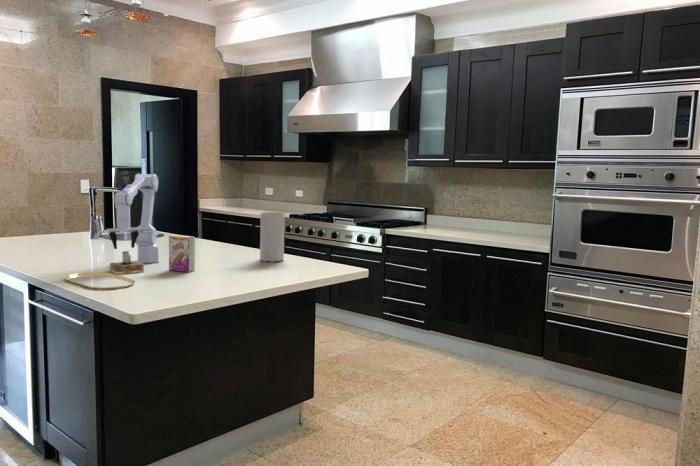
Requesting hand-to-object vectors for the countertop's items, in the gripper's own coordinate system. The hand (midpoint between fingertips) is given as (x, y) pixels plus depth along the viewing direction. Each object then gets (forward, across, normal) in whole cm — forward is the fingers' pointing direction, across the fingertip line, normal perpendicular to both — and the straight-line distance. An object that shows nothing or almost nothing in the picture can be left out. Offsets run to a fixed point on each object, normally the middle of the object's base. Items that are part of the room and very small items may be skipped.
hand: (124, 248), depth 251 cm
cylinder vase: (+11, +73, -8) cm, 74 cm away
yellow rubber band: (+11, -15, -20) cm, 28 cm away
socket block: (+10, 0, -3) cm, 11 cm away
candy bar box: (+11, +22, -13) cm, 28 cm away
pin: (+9, 0, -3) cm, 10 cm away
